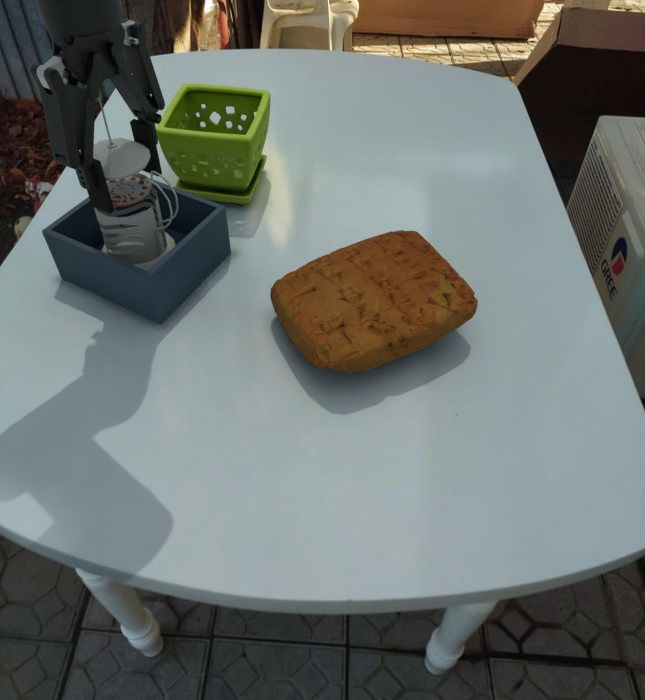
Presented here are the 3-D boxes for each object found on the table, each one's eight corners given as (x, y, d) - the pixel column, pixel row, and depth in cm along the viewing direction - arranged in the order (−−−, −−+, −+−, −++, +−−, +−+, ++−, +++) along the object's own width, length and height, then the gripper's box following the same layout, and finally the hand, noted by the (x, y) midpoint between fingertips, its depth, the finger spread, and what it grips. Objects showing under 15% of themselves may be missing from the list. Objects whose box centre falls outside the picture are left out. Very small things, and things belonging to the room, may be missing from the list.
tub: (61, 278, 78) (41, 230, 72) (138, 216, 87) (125, 169, 81) (161, 324, 73) (148, 277, 67) (231, 253, 82) (225, 206, 76)
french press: (122, 221, 82) (71, 32, 63) (199, 237, 81) (171, 48, 62) (86, 265, 76) (17, 70, 57) (168, 284, 74) (126, 89, 55)
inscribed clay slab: (407, 260, 83) (415, 214, 76) (479, 344, 73) (495, 298, 67) (261, 307, 76) (258, 260, 70) (319, 406, 66) (321, 362, 60)
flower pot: (194, 155, 98) (182, 79, 88) (275, 165, 97) (273, 89, 87) (167, 205, 89) (151, 127, 79) (257, 216, 88) (252, 138, 78)
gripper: (13, 25, 46) (91, 248, 64) (176, -47, 58) (204, 157, 76) (-53, 5, 49) (40, 226, 66) (118, -60, 61) (158, 141, 78)
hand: (128, 189), depth 71 cm, fingers closed on french press, 8 cm apart
